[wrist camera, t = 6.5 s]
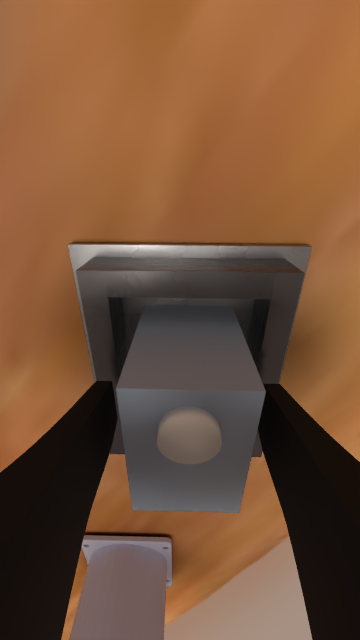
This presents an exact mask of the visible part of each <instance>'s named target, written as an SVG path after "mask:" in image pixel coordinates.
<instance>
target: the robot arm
mask: <svg viewBox="0 0 360 640" xmlns="http://www.w3.org/2000/svg"><path fill="white" fill-rule="evenodd" d="M263 386H264V388H265V391H266V393H265V398H264V402H263V407H262V411H261V416H260V420H259V425H258V433H259V438H260V442H261V447H262V450H263V453H264V456H265V459H266V462H267V465H268V468H269V471H270V474H271V477H272V480H273V483H274V486H275V489H276V492H277V495H278V498H279V501H280V504H281V507H282V510H283V514H284V517H285V521H286V524H287V528H288V532H289V536H290V540H291V544H292V548H293V553H294V556H295V561H296V565H297V569H298V574H299V579H300V583H301V588H302V592H303V596H304V601H305V606H306V610H307V615H308V620H309V625H310V629H311V634H312V639H313V640H360V462H359V461H358V460H357V459H355V458H354V457H353V456H352V455H351V454H350V453H349V452H348V451H346V450H345V449H344V448H343V447H342V446H341V445H340V444H339V443H338V442H336V441H335V440H334V439H333V438H332V437H331V436H330V435H329V434H328V433H327V432H326V431H325V430H324V429H323V428H322V427H321V426H320V425H319V424H318V423H317V422H316V421H315V420H314V419H313V418H312V417H311V416H310V415H309V414H308V413H307V412H306V411H305V410H304V409H303V408H302V407H301V406H300V405H299V404H298V403H297V402H296V401H295V400H294V399H293V398H292V397H291V396H290V395H289V393H288V392H287V391H286V390H285V389H284V388H283V387H282V386H281V385H280V384H263ZM117 419H118V416H117V409H116V403H115V396H114V390H113V383H112V381H96V382H95V383H94V384H93V385H92V386H91V387H90V388H89V389H88V390H87V392H86V393H85V394H84V395H83V396H82V397H81V398H80V399H79V400H78V401H77V402H76V403H75V404H74V405H73V406H72V408H71V409H70V410H69V411H68V412H67V413H66V414H65V415H64V416H63V417H62V418H61V419H60V420H59V421H58V422H57V423H56V424H55V425H54V426H53V427H52V428H51V429H50V430H49V431H47V432H46V433H45V434H44V435H43V436H42V437H41V438H40V439H39V440H38V441H37V442H36V443H35V444H34V445H32V446H31V447H30V448H29V449H28V450H27V451H26V452H25V453H23V454H22V455H21V456H20V457H19V458H18V459H16V460H15V461H14V462H13V463H12V464H10V465H9V466H8V467H7V468H6V469H4V470H3V471H2V472H1V473H0V640H61V637H62V633H63V628H64V623H65V618H66V614H67V609H68V604H69V599H70V595H71V590H72V586H73V581H74V577H75V573H76V568H77V564H78V559H79V555H80V551H81V547H82V549H83V552H84V555H85V557H86V560H87V563H88V568H87V572H86V576H85V580H84V584H83V587H82V591H81V595H80V599H79V603H78V607H77V611H76V615H75V619H74V622H73V626H72V630H71V634H70V638H69V640H164V622H165V601H166V587H170V586H172V542H171V539H170V538H168V537H139V536H100V535H84V534H85V530H86V526H87V522H88V518H89V515H90V511H91V508H92V504H93V501H94V498H95V495H96V492H97V489H98V486H99V483H100V480H101V477H102V474H103V471H104V468H105V465H106V462H107V459H108V456H109V453H110V450H111V447H112V443H113V439H114V434H115V429H116V424H117Z"/></svg>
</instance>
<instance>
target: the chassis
mask: <svg viewBox="0 0 360 640" xmlns="http://www.w3.org/2000/svg"><path fill="white" fill-rule="evenodd" d="M68 247H69V252H70V258H71V263H72V268H73V273H74V278H75V283H76V289H77V294H78V299H79V304H80V309H81V315H82V320H83V325H84V330H85V335H86V340H87V346H88V351H89V356H90V361H91V366H92V371H93V377H94V382H96V381H112V383H113V390H114V396H115V403H116V409H117V416H118V419H117V424H116V429H115V434H114V439H113V443H112V447H111V450H110V454H125V451H124V444H123V436H122V429H121V421H120V414H119V407H118V399H117V392H116V387H117V384H118V381H119V378H120V375H121V372H122V369H123V367H124V364H125V361H126V358H127V355H128V352H129V349H130V346H131V344H132V341H133V338H134V335H135V332H136V329H137V326H138V323H139V320H140V318H141V315H142V312H143V309H144V306H145V305H192V306H232V307H233V310H234V312H235V315H236V317H237V320H238V322H239V325H240V327H241V330H242V332H243V335H244V337H245V340H246V343H247V345H248V348H249V350H250V353H251V355H252V358H253V360H254V363H255V365H256V368H257V370H258V373H259V375H260V378H261V381H262V383H263V384H279V382H280V378H281V374H282V370H283V365H284V361H285V357H286V353H287V349H288V344H289V340H290V336H291V332H292V328H293V324H294V319H295V315H296V311H297V307H298V303H299V299H300V294H301V290H302V286H303V282H304V278H305V273H306V269H307V265H308V261H309V257H310V253H311V248H312V246H309V245H307V244H222V243H110V242H72V243H70V244H68ZM262 451H263V450H262V447H261V442H260V438H259V433H258V429H257V434H256V438H255V443H254V447H253V452H252V456H251V457H261V455H262Z"/></svg>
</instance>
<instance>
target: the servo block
mask: <svg viewBox="0 0 360 640" xmlns="http://www.w3.org/2000/svg"><path fill="white" fill-rule="evenodd" d="M116 392H117V399H118V407H119V414H120V421H121V429H122V436H123V444H124V451H125V458H126V466H127V473H128V480H129V488H130V495H131V502H132V510H154V511H190V512H225V513H239V511H240V506H241V501H242V497H243V492H244V488H245V483H246V479H247V474H248V470H249V465H250V461H251V456H252V452H253V447H254V443H255V438H256V434H257V429H258V425H259V420H260V416H261V411H262V407H263V402H264V398H265V393H266V391H265V388H264V386H263V383H262V381H261V378H260V375H259V373H258V370H257V368H256V365H255V363H254V360H253V358H252V355H251V353H250V350H249V348H248V345H247V343H246V340H245V337H244V335H243V332H242V330H241V327H240V325H239V322H238V320H237V317H236V315H235V312H234V310H233V307H232V306H192V305H145V306H144V309H143V312H142V315H141V318H140V320H139V323H138V326H137V329H136V332H135V335H134V338H133V341H132V344H131V346H130V349H129V352H128V355H127V358H126V361H125V364H124V367H123V369H122V372H121V375H120V378H119V381H118V384H117V387H116Z"/></svg>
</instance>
